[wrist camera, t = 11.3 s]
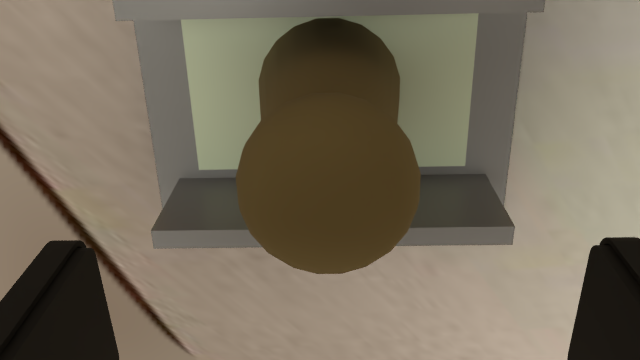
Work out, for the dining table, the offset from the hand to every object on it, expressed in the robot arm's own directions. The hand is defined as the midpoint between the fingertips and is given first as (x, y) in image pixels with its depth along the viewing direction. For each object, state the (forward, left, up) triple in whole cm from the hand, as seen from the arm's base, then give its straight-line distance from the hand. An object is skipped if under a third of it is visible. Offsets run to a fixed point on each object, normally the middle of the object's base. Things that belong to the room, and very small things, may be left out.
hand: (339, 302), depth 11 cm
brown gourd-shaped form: (0, 0, -15) cm, 15 cm away
